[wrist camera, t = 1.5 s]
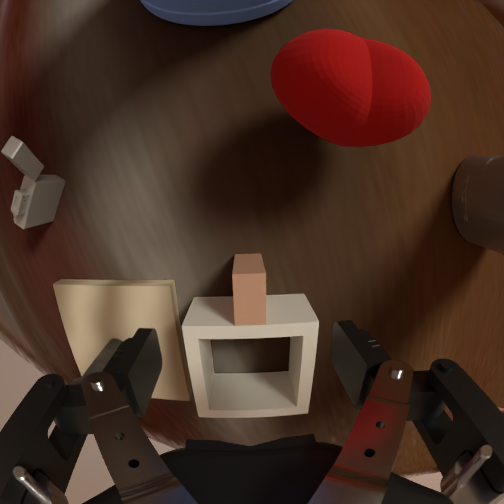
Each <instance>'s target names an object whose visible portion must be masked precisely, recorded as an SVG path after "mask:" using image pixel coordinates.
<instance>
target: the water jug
mask: <svg viewBox="0 0 504 504" xmlns="http://www.w3.org/2000/svg"><path fill="white" fill-rule="evenodd" d="M140 1H141V3H142V4H143V5H144V6H145V8H146V9H147V10H149V11H150V12H151V13H153V14H154V15H156V16H158V17H160V18H162V19H165V20H167V21H171V22H175V23H179V24H185V25H195V26H217V25H228V24H235V23H241V22H246V21H250V20H254V19H257V18H260V17H263V16H266V15H269V14H271V13H273V12H276V11H278V10H279V9H281V8H283V7H285V6H286V5H288V4H289V3H290V2H291V1H293V0H140Z"/></svg>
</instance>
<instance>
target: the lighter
mask: <svg viewBox="0 0 504 504" xmlns="http://www.w3.org/2000/svg"><path fill="white" fill-rule="evenodd" d="M1 153H2V154H3V155H4V156H5V157H6V158H8V159H9V160H10V161H11V162H12V163H13V164H14V165H15V166H16V167H17V168H18V169H19V170H20V171H21V172H22V173H23V174H25V176H24V178H23V182H22V185H21V189H20V190H15V193H14V198H13V202H12V206H11V211H12V213H13V216H14V223H16V224H17V225H18V226H20V227H21V228H22V229H26V228H30V227H33V226H37V225H41V224H45V223H49V222H52V221H54V218H55V214H56V211H57V207H58V204H59V200H60V197H61V194H62V191H63V188H64V185H65V180H64V179H62V178H60V177H59V176H57V175H39V174H40V173H41V171H42V169H43V168H44V166H43V164H42V163H41V162H40V161H39V160H38V159H37V158H36V157H35V156H34V154H33V153H32V152H31V151H30V150H29V149H28V147H27V146H26V145H25V144H24V143H23V142H22V141H21V140H19V139H17V138H15V137H13V136H11V137H10V139H9V140H8V142H7V143H6V145H5V146H4V148H3V149H2V151H1Z"/></svg>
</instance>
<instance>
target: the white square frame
mask: <svg viewBox="0 0 504 504" xmlns="http://www.w3.org/2000/svg"><path fill="white" fill-rule="evenodd" d="M232 280H233V296H225V297H194V298H193V301H192V303H191V305H190V308H189V310H188V312H187V315H186V317H185V319H184V322H183V324H182V331H183V338H184V344H185V350H186V356H187V362H188V367H189V373H190V378H191V383H192V388H193V393H194V398H195V402H196V407H197V412H198V416H199V417H209V418H252V417H273V416H286V415H297V414H306V413H308V409H309V403H310V396H311V389H312V381H313V374H314V365H315V357H316V348H317V338H318V328H319V321H318V319H317V317H316V315H315V313H314V311H313V309H312V307H311V306H310V304H309V302H308V300H307V298H306V296H305V295H304V294H285V295H266V272H265V268H264V264H263V260H262V256H261V253H258V254H235V257H234V265H233V272H232ZM274 337H290V355H289V371H281V372H264V373H214V367H213V359H212V350H211V341H210V339H250V338H274Z"/></svg>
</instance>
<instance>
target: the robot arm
mask: <svg viewBox="0 0 504 504" xmlns="http://www.w3.org/2000/svg"><path fill="white" fill-rule="evenodd" d="M451 198H452V211H453V217H454V221H455V224H456V227H457V229H458V231H459V233H460V234H461V235H462V237H463V238H464V239H465V240H467V241H468V242H470V243H473V244H476V245H479V246H482V247H485V248H487V249H490V250H493V251H495V252H498V253H501V254H503V255H504V156H480V157H469V158H467V159H465V160H464V161H463V162H462V163H461V165H460V166H459V168H458V169H457V172H456V174H455V177H454V181H453V186H452V196H451ZM330 358H331V362H332V365H333V367H334V368H335V370H336V372H337V374H338V376H339V378H340V380H341V382H342V384H343V386H344V388H345V390H346V392H347V394H348V396H349V398H350V400H351V402H352V404H353V406H354V408H355V410H357V409H361V412H360V414H359V416H358V418H357V420H356V422H355V425H354V427H353V429H352V431H351V433H350V435H349V437H348V439H347V441H346V443H345V445H344V447H341V446H338V445H335V444H330V443H323V442H316V440H315V436H314V434H309V435H302V436H294V437H285V438H280V439H277V440H273V441H270V442H266V443H262V444H258V445H254V446H245V445H239V444H233V443H227V442H222V441H213V440H189V439H187V441H186V447H185V448H180V449H175V450H172V451H169V452H166V453H163V454H161V455H159V454H158V453H157V451H156V450H155V448H154V446H153V445H152V443H151V442H150V440H149V439H148V437H147V435H146V434H145V432H144V431H143V429H142V427H141V425H140V424H139V422H138V420H137V419H136V417H137V418H144V416H145V413H146V410H147V408H148V405H149V402H150V399H151V397H152V394H153V391H154V389H155V386H156V383H157V381H158V378H159V375H160V373H161V370H162V363H163V362H162V354H161V350H160V345H159V340H158V335H157V331H156V329H155V328H138V330H137V331H136V333H135V334H134V336H133V337H132V338H128V339H126V340H125V341H123V342H122V343H121V344H120V345H119V347H118V348H117V351H115V352H114V354H113V356H112V357H111V358H110V360H109V361H108V363H107V364H106V366H105V367H104V369H103V370H102V372H95V373H91V374H89V375H88V376H86V377H85V378H84V379H83V380H82V383H81V384H76V385H66V384H65V382H64V380H63V378H62V377H61V376H60V375H57V374H48V375H45V376H43V377H41V378H40V379H38V380H37V382H36V383H35V384H34V385H33V387H32V388H31V390H30V391H29V392H28V393H27V395H26V396H25V397H24V399H23V400H22V402H21V403H20V404H19V406H18V407H17V408H16V410H15V411H14V413H13V414H12V415H11V417H10V418H9V420H8V421H7V423H6V424H5V426H4V427H3V429H2V430H1V432H0V504H68V500H67V498H66V496H65V495H64V494H65V492H66V489H67V486H68V483H69V480H70V477H71V475H72V472H73V469H74V467H75V464H76V462H77V459H78V457H79V454H80V451H81V449H82V447H83V444H84V442H85V439H86V437H87V435H88V434H94V436H95V439H96V442H97V444H98V447H99V449H100V452H101V454H102V457H103V459H104V461H105V464H106V466H107V468H108V470H109V473H110V475H111V477H112V479H113V481H114V483H115V485H114V486H112V487H110V488H109V489H107V490H105V491H104V492H102V493H100V494H98V495H97V496H95V497H93V498H91V499H90V500H88V501H86V502H84V503H82V504H497V503H498V502H499V501H500V500H502V499H503V498H504V414H503V413H502V412H501V411H500V409H499V408H498V407H497V406H496V405H495V404H494V403H493V401H492V400H491V399H490V398H489V397H488V396H487V395H486V394H485V393H484V391H483V390H482V389H481V388H480V387H479V386H478V385H477V384H476V383H475V382H474V381H473V380H472V379H471V377H470V376H469V375H468V374H467V373H466V372H465V371H464V370H463V369H462V368H461V367H460V366H459V365H458V364H457V363H456V362H454V361H452V360H449V359H437V360H435V361H434V362H432V364H431V367H430V370H427V371H413V369H412V367H411V366H410V365H409V364H407V363H406V362H403V361H400V360H392V359H391V358H390V356H389V355H388V354H387V353H386V352H385V350H384V349H383V348H382V347H381V346H380V344H379V343H378V342H377V341H375V339H374V337H373V336H372V335H371V334H370V333H368V332H366V331H365V330H363V329H358V328H357V327H356V325H355V324H354V323H353V322H352V321H351V320H347V321H338V322H335V323H334V325H333V332H332V341H331V349H330ZM446 405H447V407H448V408H449V409H450V411H451V412H452V415H453V422H452V420H451V419H450V418H449V416H448V415H447V413H446V412H445V410H444V408H445V406H446ZM53 421H54V422H55V424H56V425H55V427H54V429H53V431H52V433H51V435H50V437H49V439H48V429H49V427H50V425H51V423H52V422H53ZM406 421H413V423H414V425H415V427H416V428H417V430H418V432H419V434H420V435H421V437H422V439H423V441H424V442H425V444H426V446H427V448H428V450H429V452H430V453H431V455H432V457H433V459H434V461H435V463H436V464H437V466H438V468H439V470H440V472H441V474H442V476H443V478H442V480H441V485H440V486H441V493H440V492H438V491H435V490H433V489H430V488H427V487H425V486H422V485H420V484H417V483H415V482H413V481H410V480H408V479H406V478H404V477H401V476H399V475H397V474H395V473H393V472H391V471H392V468H393V465H394V462H395V459H396V456H397V453H398V450H399V446H400V443H401V439H402V436H403V432H404V428H405V424H406Z"/></svg>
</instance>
